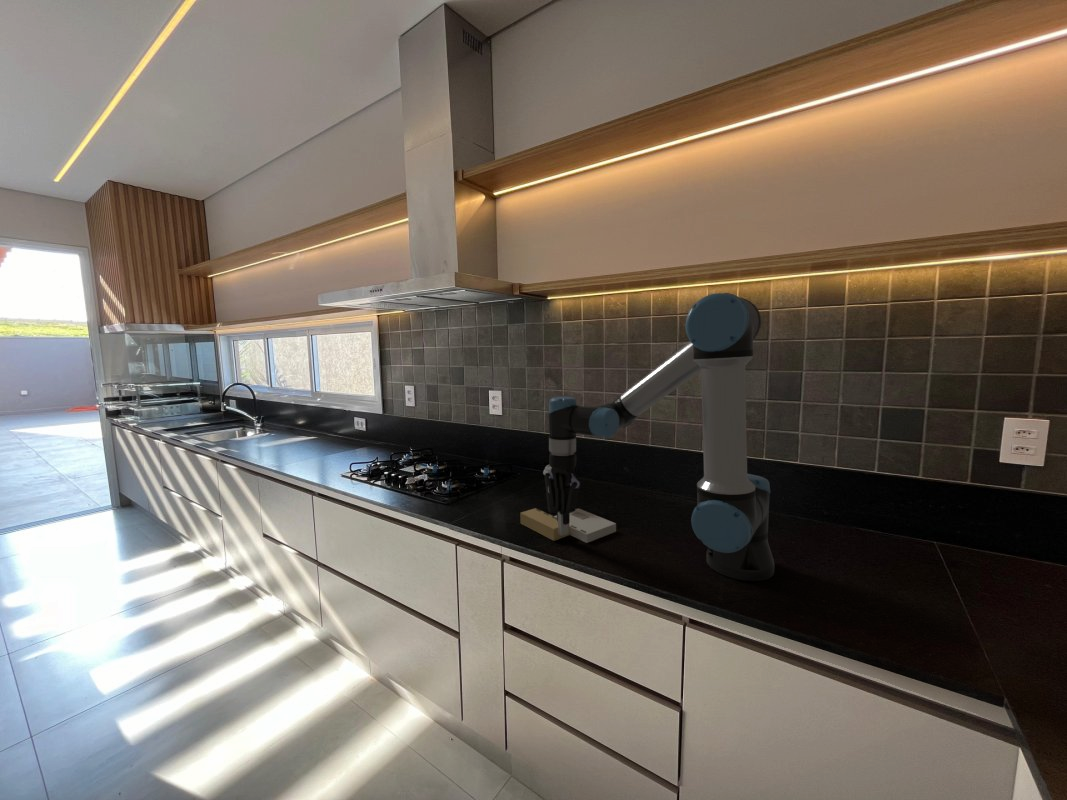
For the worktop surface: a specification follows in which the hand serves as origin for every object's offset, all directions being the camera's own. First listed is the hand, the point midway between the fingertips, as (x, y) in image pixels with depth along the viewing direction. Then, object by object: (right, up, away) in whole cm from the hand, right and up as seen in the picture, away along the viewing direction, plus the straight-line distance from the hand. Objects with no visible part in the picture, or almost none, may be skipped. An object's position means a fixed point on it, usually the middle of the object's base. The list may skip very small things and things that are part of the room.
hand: (563, 533), depth 124 cm
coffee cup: (0, +1, +23) cm, 23 cm away
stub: (-5, -1, +7) cm, 9 cm away
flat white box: (+6, -1, +8) cm, 10 cm away
